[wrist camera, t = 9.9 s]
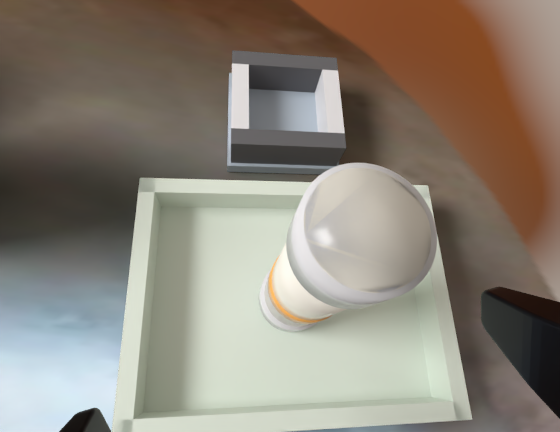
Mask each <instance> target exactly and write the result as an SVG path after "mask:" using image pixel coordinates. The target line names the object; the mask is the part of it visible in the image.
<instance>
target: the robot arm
mask: <svg viewBox="0 0 560 432" xmlns="http://www.w3.org/2000/svg"><path fill="white" fill-rule="evenodd" d="M481 320H482V324H483V326H484V328H485V330H486V331H487V332H488V334H489V335H490V336H491V338H492V339H493V340H494V342H495V343H496V344H497V345H498V347H499V348H500V349H501V351H502V352H503V353H504V354H505V356H506V357H507V358H508V360H509V361H510V362H511V363H512V365H513V366H514V367H515V369H516V370H517V371H518V372H519V374H520V375H521V376H522V377H523V379H524V380H525V381H526V382H527V384H528V385H529V386H530V387H531V388H532V389H533V390H534V392H535V393H536V394H537V395H538V396H539V397H540V398H541V399H542V400H543V401H544V402H545V403H546V405H547V406H548V407H549V408H550V409H551V410H552V411H553V412H554V413H555V414H556V415H557V416H558V417H559V418H560V302H557V301H553V300H549V299H545V298H542V297H538V296H534V295H530V294H526V293H522V292H519V291H515V290H511V289H507V288H503V287H495V288H492V289H488V290H485V291H484V292H482V294H481ZM59 432H111V430H110V429H109V427H108V425H107V423H106V421H105V419H104V417H103V415H102V413H101V411H100V410H99V409H97V408H92V409H88V410H85V411H82V412H79V413H77V414H75V415H74V416H73V417H72V418H71V419H70V421H69V422H68V423H67V424H66V425H65V426H64V427H63V428H62V429H61V430H60V431H59Z"/></svg>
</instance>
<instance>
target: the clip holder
mask: <svg viewBox="0 0 560 432" xmlns="http://www.w3.org/2000/svg"><path fill="white" fill-rule="evenodd" d="M345 150H346V141H345V131H344V122H343V113H342V104H341V95H340V86H339V77H338V68H337V58H328V57H314V56H301V55H287V54H273V53H260V52H246V51H232V73H229V105H228V158H227V172H254V173H287V174H322V173H324V172H325V171H327V170H329V169H331V168H333V167H336V166H339V160H340V158H341V157H342V155H343V153H344V151H345Z"/></svg>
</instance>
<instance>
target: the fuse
mask: <svg viewBox="0 0 560 432" xmlns="http://www.w3.org/2000/svg"><path fill="white" fill-rule="evenodd" d="M436 250H437V231H436V226H435V222H434V218H433V215H432V213H431V211H430V208H429V206H428V205H427V203H426V201H425V200H424V198H423V197H422V196H421V194H420V193H419V192H418V191H417V189H416V188H415V187H414V186H413V185H412V184H410V183H409V182H408V181H407V180H406V179H404V178H403V177H401V176H400V175H399V174H397V173H395V172H393V171H391V170H389V169H387V168H384V167H381V166H378V165H374V164H368V163H348V164H343V165H339V166H336V167H333V168H331V169H329V170H327V171H325V172H324V173H322V174H321V175H320V176H318V177H317V178H316V179H315V180H314V181H313V182H312V183H311V184H310V186H309V187H308V188H307V190H306V192H305V193H304V195H303V197H302V199H301V201H300V204H299V206H298V208H297V210H296V212H295V214H294V216H293V219H292V221H291V223H290V226H289V229H288V233H287V240H286V244H285V246H284V248H283V250H282V252H281V254H280V255H279V256H278V258H277V259H276V261H275V263H274V265H273V267H272V268H271V269H270V270H269V272H268V273H267V275H266V276H265V278H264V280H263V283H262V285H261V287H260V291H259V307H260V310H261V312H262V314H263V316H264V318H265V319H266V320H267V322H268V323H269V324H271V325H272V326H273V327H275V328H277V329H279V330H281V331H285V332H297V331H301V330H304V329H307V328H310V327H312V326H314V325H315V324H317V323H318V322H319V321H322V320H325V319H327V318H329V317H331V316H332V315H334V314H336V313H339V312H341V311H344V310H346V309H361V308H366V307H369V306H372V305H375V304H378V303H381V302H384V301H386V300H389V299H392V298H395V297H398V296H401V295H403V294H405V293H407V292H409V291H410V290H412V289H413V288H415V287H416V286H417V285H418V284H419V283H420V282H421V281H422V280H423V279H424V278H425V276H426V275H427V274H428V272H429V270H430V268H431V266H432V264H433V261H434V259H435V254H436Z"/></svg>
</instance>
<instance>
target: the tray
mask: <svg viewBox="0 0 560 432" xmlns="http://www.w3.org/2000/svg"><path fill="white" fill-rule="evenodd" d="M311 183H312V182H279V181H242V180H205V179H168V178H140V181H139V190H138V199H137V208H136V217H135V226H134V235H133V244H132V253H131V262H130V271H129V280H128V289H127V298H126V307H125V316H124V325H123V334H122V343H121V352H120V361H119V370H118V380H117V389H116V398H115V407H114V416H113V425H112V432H285V431H301V430H317V429H333V428H349V427H365V426H380V425H396V424H412V423H428V422H444V421H460V420H472V415H471V410H470V405H469V399H468V394H467V389H466V384H465V378H464V373H463V368H462V362H461V357H460V352H459V347H458V341H457V336H456V331H455V326H454V320H453V315H452V310H451V305H450V299H449V294H448V289H447V284H446V278H445V273H444V268H443V263H442V257H441V252H440V247H439V242H438V236H437V250H436V254H435V259H434V261H433V264H432V266H431V268H430V270H429V272H428V274H427V275H426V276H425V278H424V279H423V280H422V281H421V282H420V283H419V284H418V285H417V286H416V287H415V288H413V289H412V290H410V291H409V292H407V293H405V294H403V295H401V296H398V297H395V298H392V299H389V300H386V301H384V302H381V303H378V304H375V305H372V306H369V307H366V308H361V309H346V310H344V311H341V312H339V313H336V314H334V315H332V316H331V317H329V318H327V319H325V320H322V321H319V322H318V323H317V324H315V325H314V326H312V327H310V328H307V329H304V330H301V331H297V332H285V331H281V330H279V329H277V328H275V327H273V326H272V325H271V324H269V323H268V322H267V320H266V319H265V318H264V316H263V314H262V312H261V310H260V307H259V291H260V287H261V285H262V283H263V280H264V278H265V276H266V275H267V273H268V272H269V270H270V269H271V268H272V267H273V265H274V263H275V261H276V259H277V258H278V256H279V255H280V254H281V252H282V250H283V248H284V246H285V244H286V240H287V233H288V229H289V226H290V223H291V221H292V219H293V216H294V214H295V212H296V210H297V208H298V206H299V204H300V201H301V199H302V197H303V195H304V193H305V192H306V190H307V188H308V187H309V186H310V184H311ZM413 186H414V187H415V188H416V189H417V191H418V192H419V193H420V194H421V196H422V197H423V198H424V200H425V201H426V203H427V205H428V206H429V208H430V211H431V213H432V215H433V210H432V205H431V200H430V194H429V189H428V186H427V185H413ZM433 218H434V215H433ZM434 222H435V221H434Z"/></svg>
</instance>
